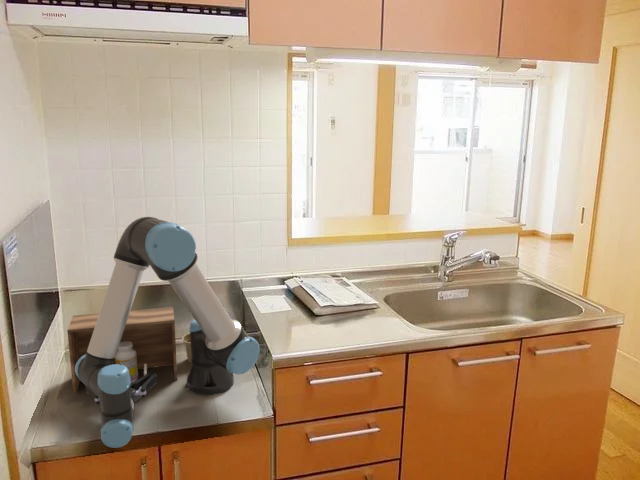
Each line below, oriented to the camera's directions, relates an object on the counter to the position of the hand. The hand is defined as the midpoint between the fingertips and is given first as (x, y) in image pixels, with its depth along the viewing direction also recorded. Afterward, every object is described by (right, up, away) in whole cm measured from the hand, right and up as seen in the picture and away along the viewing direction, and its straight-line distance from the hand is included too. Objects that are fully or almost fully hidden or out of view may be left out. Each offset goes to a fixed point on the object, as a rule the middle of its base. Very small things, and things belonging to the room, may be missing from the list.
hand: (122, 370), depth 163 cm
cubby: (-2, -5, +10) cm, 11 cm away
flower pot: (+18, -2, +24) cm, 30 cm away
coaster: (+2, -8, -2) cm, 8 cm away
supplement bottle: (-2, -6, +9) cm, 10 cm away
